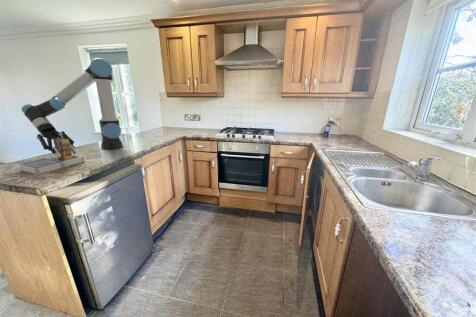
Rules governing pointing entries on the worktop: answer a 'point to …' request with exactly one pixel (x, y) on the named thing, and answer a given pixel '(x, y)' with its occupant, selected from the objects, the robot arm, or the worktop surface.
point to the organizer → (49, 164)
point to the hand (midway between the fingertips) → (68, 154)
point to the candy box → (63, 148)
